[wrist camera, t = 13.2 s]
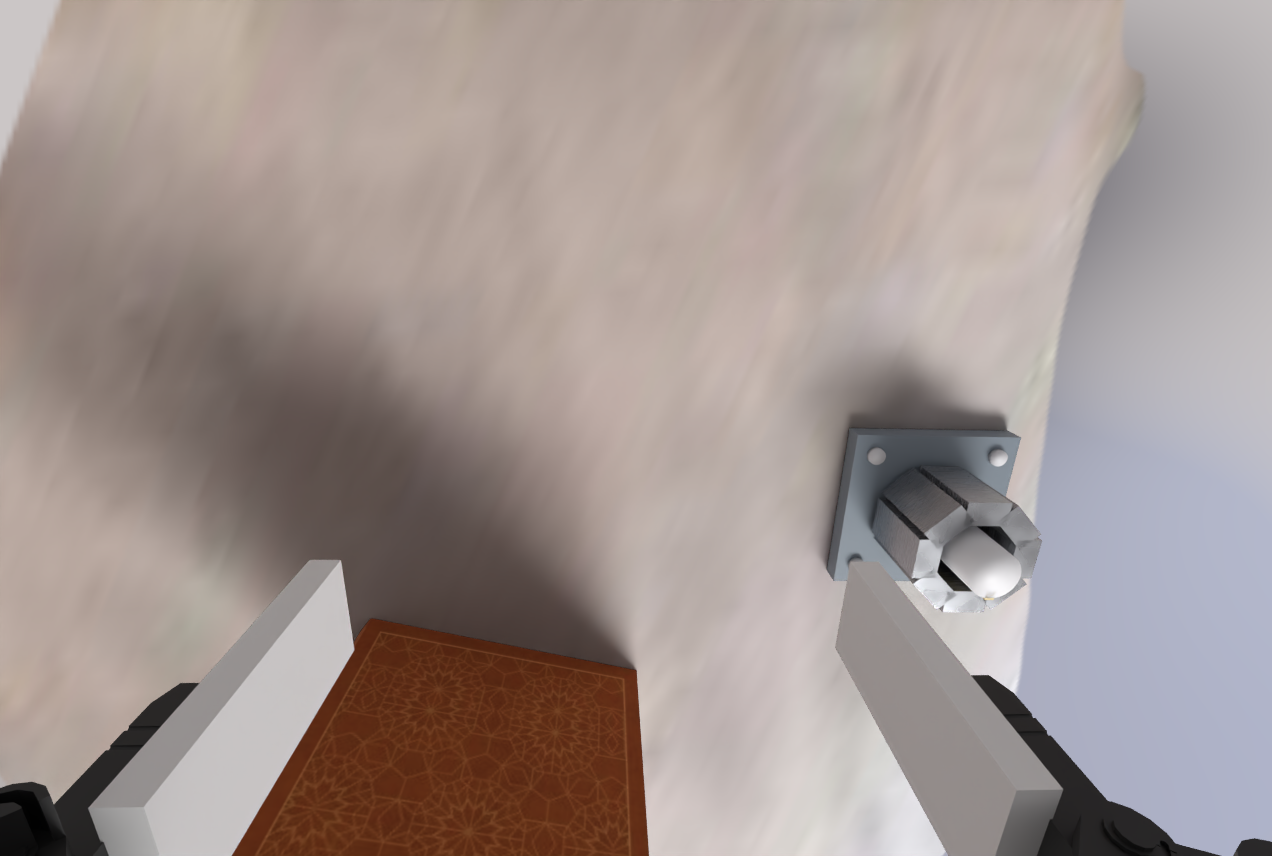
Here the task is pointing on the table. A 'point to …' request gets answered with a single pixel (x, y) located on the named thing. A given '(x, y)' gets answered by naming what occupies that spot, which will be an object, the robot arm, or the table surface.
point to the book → (461, 756)
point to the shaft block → (897, 451)
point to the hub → (949, 531)
